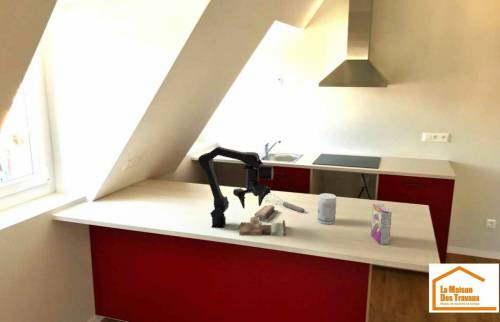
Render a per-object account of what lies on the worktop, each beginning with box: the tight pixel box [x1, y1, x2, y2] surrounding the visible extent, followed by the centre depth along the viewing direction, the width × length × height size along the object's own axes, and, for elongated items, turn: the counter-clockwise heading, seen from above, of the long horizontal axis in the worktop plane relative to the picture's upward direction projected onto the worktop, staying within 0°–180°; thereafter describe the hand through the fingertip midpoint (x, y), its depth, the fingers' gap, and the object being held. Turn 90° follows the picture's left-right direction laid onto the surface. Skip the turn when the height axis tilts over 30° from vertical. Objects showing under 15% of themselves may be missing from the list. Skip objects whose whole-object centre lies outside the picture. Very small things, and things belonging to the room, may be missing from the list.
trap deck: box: [238, 219, 287, 237], centre depth 191 cm, size 23×12×4 cm, turn 87°
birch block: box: [249, 216, 260, 229], centre depth 190 cm, size 4×4×4 cm
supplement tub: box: [317, 192, 337, 225], centre depth 202 cm, size 10×10×15 cm
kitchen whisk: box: [265, 193, 306, 214], centre depth 226 cm, size 6×34×6 cm, turn 44°
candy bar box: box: [370, 203, 392, 246], centre depth 178 cm, size 11×5×16 cm, turn 5°
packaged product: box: [253, 204, 279, 223], centre depth 211 cm, size 18×5×10 cm
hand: (251, 207), depth 191 cm, fingers open, 9 cm apart
